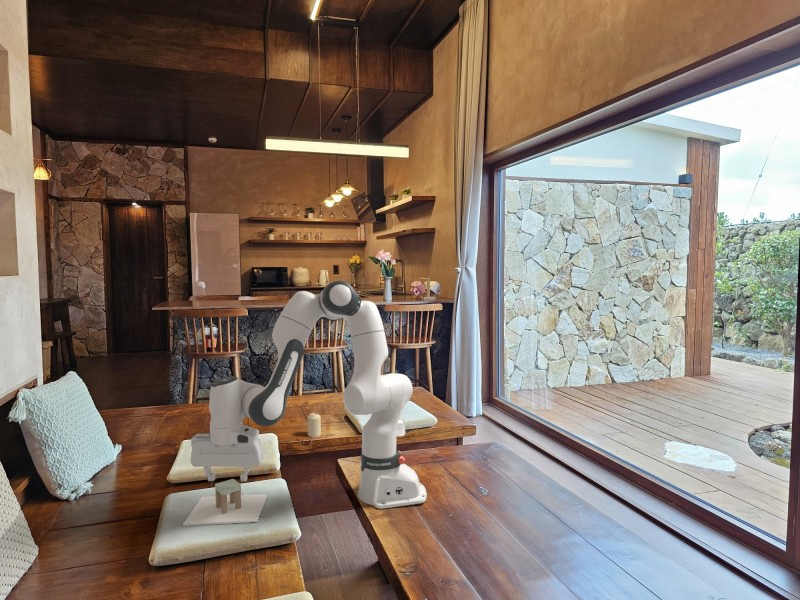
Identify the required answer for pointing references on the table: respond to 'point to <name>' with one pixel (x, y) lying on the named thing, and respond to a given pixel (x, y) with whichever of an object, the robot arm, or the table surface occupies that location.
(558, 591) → the table surface
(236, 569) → the table surface
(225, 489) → the wooden stool
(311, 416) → the candle
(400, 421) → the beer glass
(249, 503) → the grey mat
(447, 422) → the table surface
